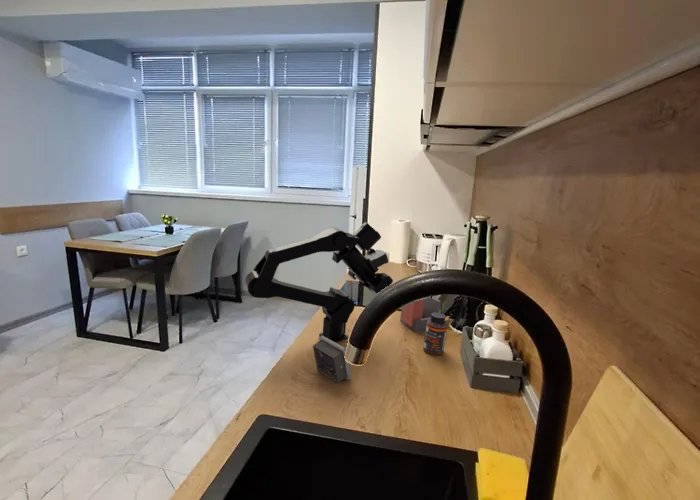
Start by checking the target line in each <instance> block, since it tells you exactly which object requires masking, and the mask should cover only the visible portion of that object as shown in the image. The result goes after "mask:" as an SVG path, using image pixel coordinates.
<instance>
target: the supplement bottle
mask: <svg viewBox="0 0 700 500" xmlns="http://www.w3.org/2000/svg"><path fill="white" fill-rule="evenodd" d="M447 331H448V324H447V322H446V315H445V314H444V313H440V312H439V313H432V314H431V319H430V320H428V321H427V325H426V331H424V339H423V346H422V347H423V350H424V351H425V352H426V353H427V354H429V353H430V355H433V354H440V355H442V354H443V353H444V351H445V345H446V337H447ZM441 353H442V354H441Z"/></svg>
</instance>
